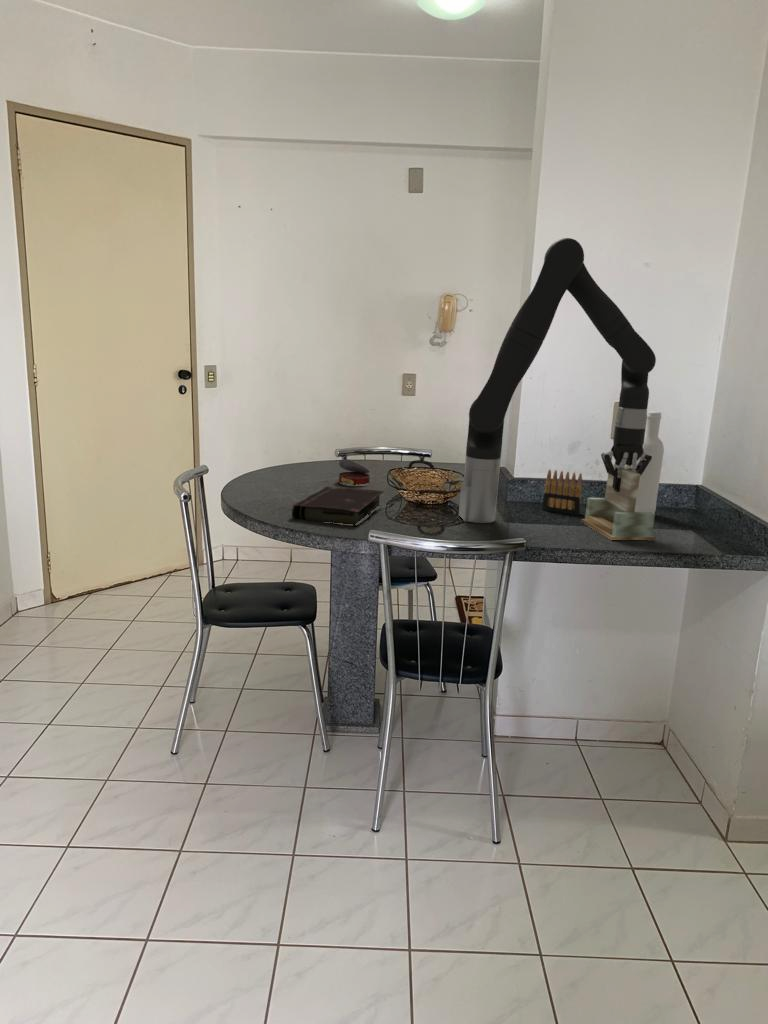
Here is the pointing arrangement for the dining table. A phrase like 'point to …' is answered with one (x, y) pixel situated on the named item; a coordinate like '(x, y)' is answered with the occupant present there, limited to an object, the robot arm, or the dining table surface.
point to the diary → (337, 505)
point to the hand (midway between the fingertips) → (622, 491)
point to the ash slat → (624, 490)
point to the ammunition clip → (571, 499)
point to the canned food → (353, 473)
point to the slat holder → (618, 521)
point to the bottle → (650, 466)
